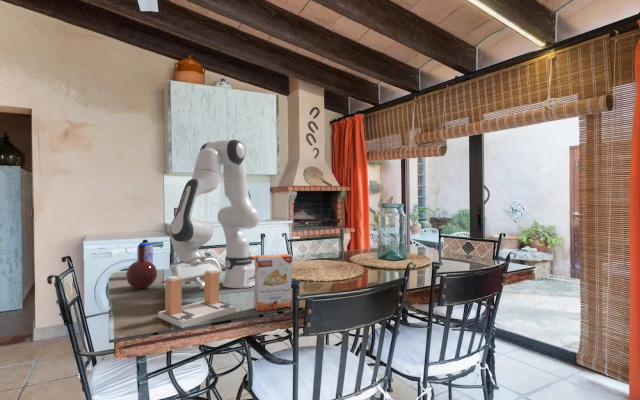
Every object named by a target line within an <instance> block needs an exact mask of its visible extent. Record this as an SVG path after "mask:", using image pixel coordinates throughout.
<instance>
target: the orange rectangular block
mask: <svg viewBox="0 0 640 400" xmlns="http://www.w3.org/2000/svg"><path fill="white" fill-rule="evenodd" d="M164 281H165V283H164V284H165V287H164V294H165V295H164V299H165V301H164V306H165V307H164V310H165V313H167V314H170V315H174V314H178V313H181V306H183V305H182V297H183V296H182V293H183V292H182V290H183V289H182V285H183V283H182V279H180V277H178V276H173V275H172V276H167V277H166V279H165V280H164Z"/></svg>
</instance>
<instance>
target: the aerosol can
mask: <svg viewBox="0 0 640 400" xmlns="http://www.w3.org/2000/svg"><path fill="white" fill-rule="evenodd" d="M138 246H146V247H145V260H146V261H149V262H151V263H152V264H154V247H153V246H154V245H153V244H152V243H151V242H149V240H148V239H142V242H140V243H139V244H138V245H137V248H136V250H137V251H136V254H137V256H136V257H137V259H136V261H139V247H138Z"/></svg>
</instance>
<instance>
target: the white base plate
mask: <svg viewBox="0 0 640 400" xmlns="http://www.w3.org/2000/svg"><path fill="white" fill-rule="evenodd" d="M233 313H236V306H234V305H232V303H228V302H225V301H222V300H219V303H216V304H212V305H210V304H207V303H204V300H200V301H196V302H191V303H188V304H185V305H181V313H178V314H174V315H170V314H167V313H165V309H164V310H161V311H158V313H157V315H158V316H157V318H159V319H161V320H163V321H166V322H167V323H170V324H172V325H174V326H177V327H179V328H180V329H181V328H182V329H183V328H186V327H190V326H194V325H196V324H199V323H203V322H204V323H205V322H207V321H210V320H214V319H217V318H221V317H224V316H227V315H230V314H233Z"/></svg>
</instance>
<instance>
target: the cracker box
mask: <svg viewBox="0 0 640 400" xmlns="http://www.w3.org/2000/svg"><path fill="white" fill-rule="evenodd" d="M254 256H255V260H254V265H255V286H254V287H253V288H254V291H253V292H254V299H253V308H254V309H255V310H256V312H263V311H272V310H271V309H274V310H279V309H278V308H283V307H290V306H291V307H292V291H293V290H292V288H293V287H292V288H291V282H292V281H293V256H292V255H290V254H289V253H283V254H261V255H257V254H256V255H254ZM292 283H293V282H292ZM283 309H284V308H283Z"/></svg>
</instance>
